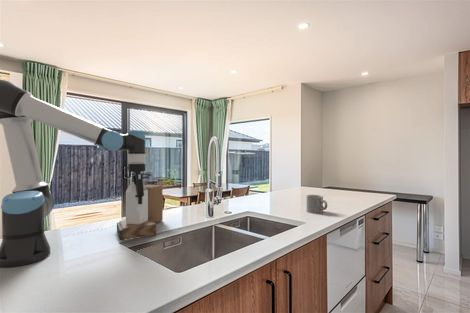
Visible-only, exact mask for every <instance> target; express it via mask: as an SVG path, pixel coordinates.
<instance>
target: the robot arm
mask: <svg viewBox="0 0 470 313" xmlns="http://www.w3.org/2000/svg"><path fill="white" fill-rule="evenodd" d="M33 121H35V122H38V123H41V124H43V125H46V126H48V127H51V128H54V129H56V130H59V131H62V132H64V133H66V134H69V135H71V136H74V137H76V138H78V139H82V140H84V141H87V142H89V143H92V144H93V145H97V146H98V149H99V150H100V151H106V152H108V151H111V152H113V151H115V152H116V151H127V162H128V165H127V166H128V167H127V170H128V172H129V173H131V182H134V184H135V185H136V193H137V195H136V196H135V197H136V211H137V212H139V211H143V196H144V190H143V180H144V179H143V173H142V172H146V164H145V162H146V158H147V155H146V132H145V131H144V130H141V129H140V130H139V129H129V130H128V131H127V133H126V134H125V133H124V134H123V133H120V132H118V131H115V130H111V129H109V128H106V127H104V126H102V125H99V124H97V123H95V122H93V121H90V120H88V119H86V118H83V117H81V116H79V115H76V114H74V113H72V112H69V111H67V110H65V109H63V108H60V107H57V106H56V105H53V104H51V103H48V102H46V101H44V100H41V99H40V98H36V97H34V96H33V94H32V93H31V92H30V91H27V90H25V89H23V88H21V87H20V86H18V85H16V84H15V83H13V82H11V81H8V80H5V79H0V125H1V126H2V129H3V133H4V137H5V142H6V146H7V152H8V155H9V159H10V164H11V169H12V172H13V173H12V174H13V177H14V182H15V183H14V184H15V187H14V188H13V189H12V190H11V192H12V193H9V194H6V195H5V196H4V197H3V198H2V200H1V206H0V209H1V228H2V229H1V230H2V231H1V233H2V236H1V237H2V240H1V243H0V268H13V267H15V268H16V267H20V266H26V265H29V264H33V263H36V262H39V261H42V260H44V259H46V258H48V257H49V256H50V255H51V246H50V243H49V241H48V239H47V237H46V235H45V234H46V233H45V217H47V216H48V215H49V214H50V213H51V212H52V211H53V209H54V207H55V197H54V195H53V194H52V192H51V191H50V186H49V183H47V182H46V181H44V180H43V175H42V174H43V173H42V169H41V166H40V162H39V156H38V152H37V147H36V142H35V138H34V133H33V128H32V125H31V124H32V123H33Z"/></svg>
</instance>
